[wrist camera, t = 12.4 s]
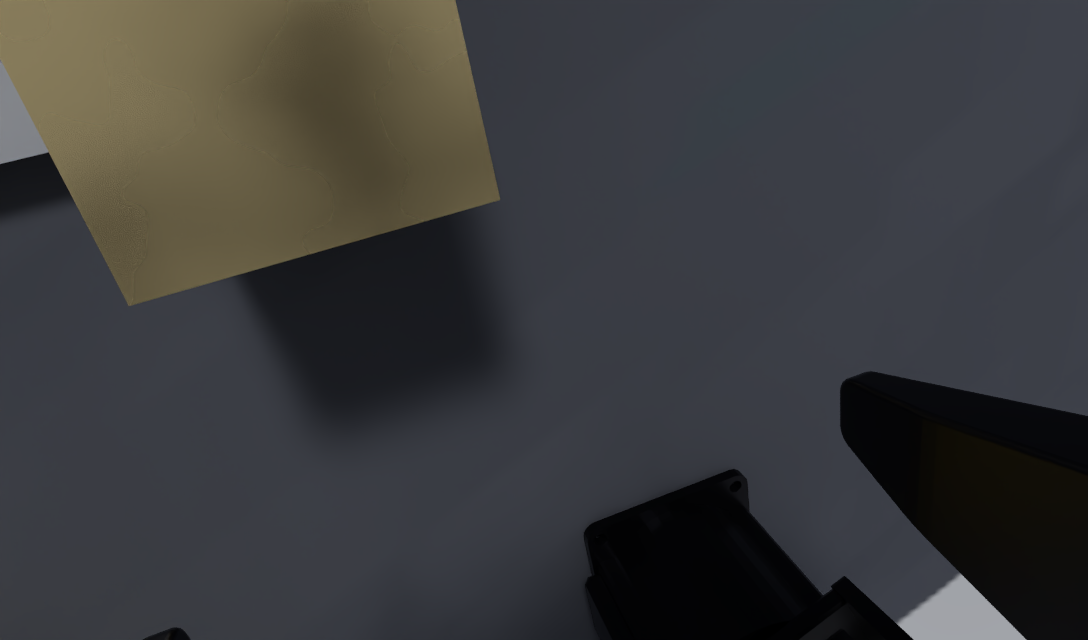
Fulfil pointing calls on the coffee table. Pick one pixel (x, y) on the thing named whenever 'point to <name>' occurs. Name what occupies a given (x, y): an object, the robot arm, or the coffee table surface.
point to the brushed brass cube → (248, 125)
